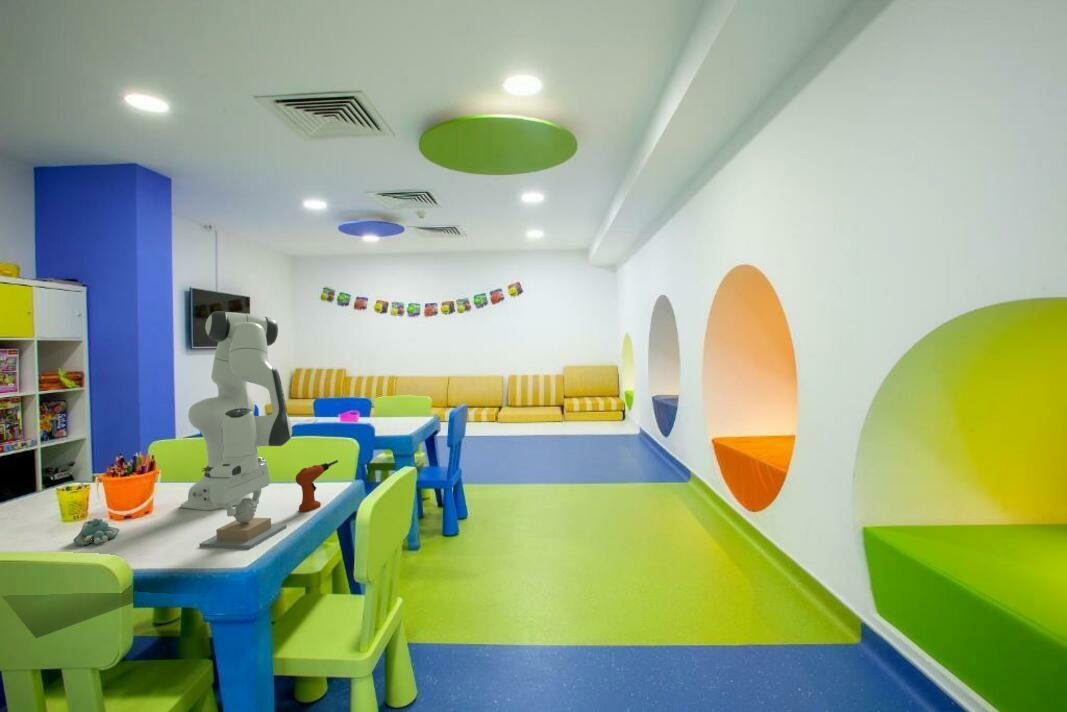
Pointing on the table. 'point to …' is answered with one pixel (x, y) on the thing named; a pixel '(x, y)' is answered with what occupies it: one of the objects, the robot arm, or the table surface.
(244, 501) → the grey lumpy sculpture
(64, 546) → the table surface
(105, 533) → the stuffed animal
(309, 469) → the toy drill
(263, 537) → the baseplate
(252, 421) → the robot arm
